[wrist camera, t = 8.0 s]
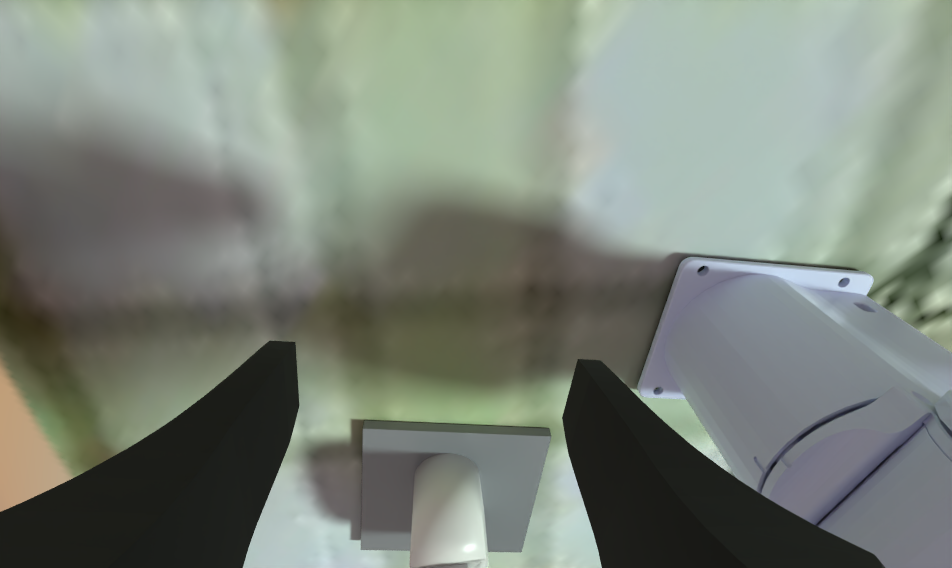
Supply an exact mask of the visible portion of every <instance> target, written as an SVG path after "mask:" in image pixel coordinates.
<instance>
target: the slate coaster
mask: <svg viewBox="0 0 952 568" xmlns="http://www.w3.org/2000/svg"><path fill="white" fill-rule="evenodd" d="M550 440H551V433H550V429H549V428H527V427H504V426H482V425H459V424H436V423H413V422H390V421H367V420H364V425H363V449H362V507H361V550H405V551H410V549H411V531H412V513H413V495H414V477H415V471H416V469H417V467H418V466H419V465H420V464H421V463H422V462H423V461H424V460H426V459H427V458H429V457H432V456H434V455H438V454H445V453H452V454H458V455H462V456H464V457H467V458H468V459H470V460H471V461H472V462H474V464H475V465H476V466H477V468H478V471H479V477H480V484H481V491H482V499H483V506H484V515H485V526H486V537H487V549H488V552H522V548H523V544H524V540H525V536H526V533H527V529H528V525H529V521H530V517H531V513H532V509H533V506H534V502H535V498H536V494H537V490H538V486H539V482H540V479H541V475H542V471H543V467H544V463H545V459H546V455H547V452H548V448H549V444H550Z"/></svg>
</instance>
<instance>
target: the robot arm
mask: <svg viewBox="0 0 952 568" xmlns="http://www.w3.org/2000/svg"><path fill="white" fill-rule="evenodd" d="M702 266H705V268H704V269H703V270H702V271H701V272H698V269H699V268H700V267H702ZM841 279H843V280H842V281H841V282H840V283H839V281H840V280H841ZM872 284H873V277H872V276H871V275H870V274H868V273H867V272H864V271H853V270H841V269H830V268H818V267H807V266H795V265H783V264H772V263H760V262H748V261H737V260H725V259H713V258H702V257H688V258H686V259H684V260H683V261H682V262H681V263H680V265H679V267H678V270H677V273H676V276H675V279H674V282H673V285H672V288H671V291H670V293H669V296H668V299H667V302H666V305H665V308H664V311H663V314H662V316H661V319H660V322H659V325H658V328H657V331H656V334H655V337H654V340H653V342H652V345H651V348H650V351H649V354H648V357H647V360H646V363H645V366H644V368H643V371H642V374H641V377H640V380H639V383H638V386H637V389H638V391H639V393H640V395H641V396H643V397H650V398H669V399H686V400H687V401H688V403H689V404H690V406H691V407H692V409H693V411H694V412H695V414H696V415H697V417H698V418H699V420H700V422H701V423H702V425H703V426H704V428H705V429H706V431H707V433H708V434H709V436H710V437H711V439H712V441H713V442H714V444H715V445H716V447H717V448H718V450H719V452H720V453H721V455H722V456H723V458H724V459H725V461H726V463H727V464H728V466H729V467H730V469H731V470H732V472H733V474H734V475H735V477H736V478H735V477H734V476H732V475H731V474H730V473H728V472H727V471H725V470H724V469H722V468H721V467H720V466H718V465H717V464H716V463H714V462H713V461H712V460H710V459H709V458H708V457H706V456H705V455H704V454H702V453H701V452H700V451H698V450H697V449H696V448H694V447H693V446H692V445H691V444H689V443H688V442H687V441H686V440H685V439H683V438H682V437H681V436H680V435H679V434H678V433H676V432H675V431H674V430H673V429H672V428H671V427H669V426H668V425H667V424H666V423H665V422H664V421H663V420H662V419H661V418H659V417H658V416H657V415H656V414H655V413H654V412H653V411H652V410H651V409H650V408H649V407H648V406H647V405H646V404H644V403H643V402H642V401H641V400H640V399H639V398H638V397H637V396H636V395H635V394H634V393H633V392H632V391H631V390H630V389H629V388H628V387H627V386H626V385H625V384H624V383H623V382H622V381H621V380H620V379H619V378H618V377H617V376H616V375H615V374H614V373H613V372H612V371H611V370H610V369H609V368H608V367H607V366H606V365H605V364H604V363H603V362H601V361H600V360H583V359H578V361H577V365H576V368H575V372H574V376H573V380H572V383H571V387H570V391H569V395H568V398H567V402H566V406H565V410H564V413H563V417H562V419H563V425H564V431H565V438H566V443H567V448H568V453H569V457H570V460H571V463H572V467H573V470H574V473H575V476H576V480H577V483H578V486H579V489H580V492H581V495H582V498H583V501H584V505H585V508H586V511H587V514H588V517H589V520H590V523H591V527H592V530H593V533H594V536H595V540H596V544H597V547H598V551H599V556H600V561H601V565H602V568H952V353H951V352H950V351H948V350H947V349H945V348H944V347H942V346H941V345H939V344H938V343H936V342H935V341H933V340H932V339H930V338H929V337H927V336H926V335H924V334H923V333H921V332H920V331H918V330H917V329H915V328H914V327H912V326H911V325H909V324H908V323H906V322H905V321H903V320H902V319H900V318H899V317H897V316H896V315H894V314H893V313H891V312H890V311H888V310H887V309H885V308H884V307H882V306H881V305H879V304H878V303H876V302H875V301H873V300H872V299H870V298H869V297H867V296H866V295H867V293H868V291H869V290H870V288H871V286H872ZM657 387H659V388H658V389H657V390H654V389H655V388H657ZM298 409H299V394H298V377H297V361H296V345H295V342H283V341H269V342H268V343H266V344H265V345H264V346H263V347H262V348H260V349H259V350H258V351H257V352H256V353H255V354H254V355H252V356H251V357H250V358H249V359H248V360H247V361H246V362H244V363H243V364H242V365H241V366H240V367H239V368H238V369H236V370H235V371H234V372H233V373H232V374H231V375H229V376H228V377H227V378H226V379H225V380H223V381H222V382H221V383H220V384H219V385H217V386H216V387H215V388H214V389H212V390H211V391H210V392H209V393H208V394H206V395H205V396H204V397H203V398H201V399H200V400H199V401H197V402H196V403H195V404H193V405H192V406H191V407H189V408H188V409H187V410H185V411H184V412H183V413H181V414H180V415H179V416H177V417H176V418H174V419H173V420H172V421H170V422H169V423H167V424H166V425H164V426H163V427H161V428H160V429H158V430H157V431H155V432H154V433H152V434H150V435H149V436H147V437H146V438H144V439H142V440H141V441H139V442H138V443H136V444H134V445H133V446H131V447H129V448H128V449H126V450H124V451H122V452H121V453H119V454H117V455H115V456H113V457H112V458H110V459H108V460H106V461H104V462H103V463H101V464H99V465H97V466H95V467H93V468H92V469H90V470H88V471H86V472H84V473H83V474H81V475H79V476H77V477H75V478H73V479H71V480H69V481H67V482H65V483H63V484H61V485H59V486H57V487H55V488H52V489H50V490H49V491H46V492H44V493H42V494H40V495H37V496H35V497H34V498H31V499H29V500H27V501H25V502H22V503H20V504H18V505H16V506H13V507H11V508H9V509H6V510H4V511H2V512H0V568H243V565H244V561H245V558H246V554H247V551H248V548H249V544H250V542H251V539H252V536H253V533H254V530H255V528H256V525H257V522H258V520H259V518H260V515H261V513H262V510H263V508H264V505H265V503H266V500H267V498H268V495H269V493H270V490H271V488H272V486H273V483H274V481H275V478H276V476H277V473H278V471H279V468H280V466H281V463H282V461H283V458H284V456H285V453H286V451H287V448H288V445H289V443H290V439H291V436H292V432H293V428H294V425H295V421H296V417H297V413H298Z"/></svg>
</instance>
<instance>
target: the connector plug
mask: <svg viewBox="0 0 952 568" xmlns="http://www.w3.org/2000/svg"><path fill="white" fill-rule="evenodd" d="M410 568H489V560H488V549H487V537H486V526H485V515H484V506H483V499H482V491H481V484H480V477H479V471H478V468H477V466H476V465H475V464H474V462H472V461H471V460H470V459H468V458H467V457H464V456H462V455H458V454H452V453H445V454H438V455H434V456H432V457H429V458H427V459H426V460H424V461H423V462H422V463H421V464H420V465H419V466H418V467H417V469H416V471H415V477H414V495H413V513H412V531H411V549H410Z"/></svg>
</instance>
